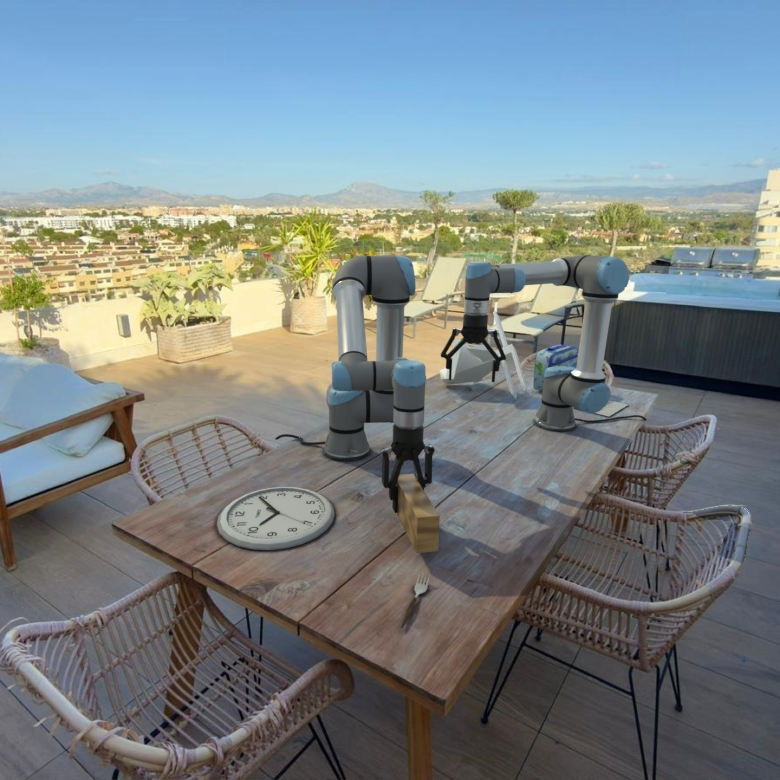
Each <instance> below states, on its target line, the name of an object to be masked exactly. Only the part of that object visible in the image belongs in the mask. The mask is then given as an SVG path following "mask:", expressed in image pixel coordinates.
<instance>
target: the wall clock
mask: <svg viewBox="0 0 780 780" xmlns="http://www.w3.org/2000/svg"><path fill="white" fill-rule="evenodd" d="M335 516H336V513H335V509H334V505H333V504H332V503H331V502H330V500H329V499H328V498H327V497H325V496H323V495H322V494H321V493H319V492H316V491H313V490H311V489H307V488H302V487H296V486H279V487H278V486H277V487H267V488H263V489H258V490H255V491H251V492H249V493H246V494H243V495H242V496H240V497H238V498H235V499H234V500H232V501H231V502H230V503H228V505H226V506H225V507H223V509H222V510H221V512H220V514H219V515H218V517H217V521H216V529H217V531H218V533H219V535H220V536H221V537H222V538H223V539H224V540H225V541H226V542H227V543H230V544H233V545H235V546H236V547H239V548H244V549H249V550H257V551H274V550H285V549H289V548H292V547H297V546H301V545H304V544H306V543H308V542H310V541H312V540H315V539H317V538H318V537H319V536H321V535H323V534H324V533H325V532H326V531H328V529H329V528H330V527H331V525H332V524H333V522H334V518H335Z"/></svg>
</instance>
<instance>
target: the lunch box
mask: <svg viewBox="0 0 780 780" xmlns="http://www.w3.org/2000/svg"><path fill="white" fill-rule="evenodd" d="M578 353H579V349H578V347H577V346H571V345H565V344H556V345H553V346H549V347H546V348H544V349H541V350H539V351H538V353H537V354H536V357H535V361H534V371H533V372H534V373H533V389H534V390H535V391H539V392H542V391H543V380H544V374H545V370H546V369H547V368H549V367H556V366H567V367H574V368H576V367H577V360H578Z"/></svg>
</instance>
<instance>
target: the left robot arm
mask: <svg viewBox="0 0 780 780" xmlns="http://www.w3.org/2000/svg"><path fill="white" fill-rule="evenodd" d="M415 274H416V273H415V269H414V264H413V261H412V260H411V258H409V257H408V256H402V255H357V256H354V257H352V258H350V259H348V260H347V261H346V262H345V263H343V265H341V266H340V268H339V269H338V270H337V272H336V274H335V276H334V278H333V282H332V293H331V294H332V298H333V300H334V301H335V303H336V304H335V305H336V325H337V326H336V327H337V356H338V361H333V362H332V363H331V387H332V388H331V389H330V390H329V392H328V402H327V404H328V425H329V426H328V433H327V437H326V439H325V441H312V442H311V441H304V439H303V437H301V436H299V435H294V434H289V433H284V434H280V435H277V436H276V437H275V438H274V440H275V441H276V440H277V441H278V440H279V439H281V438H294V439H296V440H300V443H301V444H302V445H305V446H318V445H319V446H320V445H324V446H323V452H324V455H325V456H326V457H327V458H329V459H332V460H336V461H342V462H343V461H347V462H348V461H356V460H360V459H363V458H365V457H367V456H368V455H369V453H370V444H369V441H368V438H367V434H366V431H365V424H375V423H376V424H377V423H378V424H380V423H381V424H383V423H391V424H393V425H392V442H391V444H390V446H389V447H387V448H385V447H381V448H380V454H381V456H382V458H381V459H382V461H381V462H382V463H381V464H382V465H381V484H382V486H383V488H384V489H387V488H388V497H389V499H390V501H392V511H393V512H394V514H397V513H398V488H397V487H396V484H397V481H398V478H399V475H400V474H401V471H402V467H403V466H404V463H405V462H407V461H410V462H411V461H412V465H413V468H414V472H415V477H416V479H417V481H418V482H419V484H420V485H421V487H422V488H423V490H424V491H425V488H426V486H427V485H428V484H429V485H430V484H432V481H433V456H434V453H435V449H436V448H435V447H434V446H433V445H432V444H431V443H429V444H426V443H425V442H424V429H425V426H424V424H425V401H426V400H425V397H426V381H427V375H426V373H427V372H426V365H425V364H424V362H421V361H418V360H411V359H408V358H407V357H403V356H404V332H405V331H404V328H405V307H406V306H407V305H408V304H409V303H410V300H411V299H410V297H413V296H415V295H416V289H417V288H416V285H417V283H416V276H415ZM365 296H371V302H372V303H373V304H374V305H375V306H376V329H375V331H376V332H375V333H376V335H375V336H376V337H375V360H368V350H367V338H366V337H367V336H366V325H365V311H364V299H365ZM299 437H300V438H299ZM422 452H424V475H423V471H422V466H421V461H420V458H419V456H420V455H421V453H422ZM392 453H393V454H394V456H395V457H394V462H393V463H394V464H393V466H392V471H391V474H390V458H391V456H392Z"/></svg>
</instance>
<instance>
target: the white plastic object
mask: <svg viewBox="0 0 780 780" xmlns="http://www.w3.org/2000/svg"><path fill="white" fill-rule="evenodd" d="M492 315H493V319H494V321H495V324H496V325H495V326H496V328H497V332H498V335H499V338H500V342H501V346H502V349H503V352H504V354H505V356H506V360H502V361H500V365H499V367H500V366H502V370H503V373H504V376H505V380H506V383H507V386H508V390H509V393H510V394H511V395H512V397H513V398H514V399H515V400H517V392H516V391H517V390H516V388H515V385H514V381H513V378H512V375H511V371H510V369H509V365H508V361H510V360H513V363H514V366H515V369H516V372H517V376H518V380H519V382H520V385H521V389H522V391H523V393H524V395H525V396H526V397H528V396H531V395H530V390H529V388H528V387H529V386H528V384H527V381H526V378H525V375H524V371H523V369H522V368H523V367H522V366H521V362H520V359H519V355H518V352H517V349H516V347H515V346H514V345H513V343H511V344H508V341H507V337H506V334H505V331H504V328H503V325H502V321H501V318H500V315H499V314H498V312H497V311H496V310H495V311H492ZM461 339H462V338H460V339H458V338H455V339H454V341H453V343H452V349H453V348H454V347H455V346H456V345H457V344H458V343H459V342H460V341H461ZM452 349H451V350H452ZM493 350H494V351H495V353H496V354H497V355H498V356H501V355H500V353H499V350H498V349H496V350H495V349H493ZM451 358H452V374H451V380H449V369H446V367H444V368H442V369H440V370H439V371H438V372H439V376H440V381H442V383H443V384H444V385H445V386H449V385H458V384H467V383H468V384H469V383H473V384H477V383H480V382H482V381H484V378H485V377H486V376H487V375H489V374H490V373H492V368H493V360H495V359H494V357H493V356H492V355H491V353H490V352H489V351H488V350H487V348H486V347H485V346H484V345H483V344H477V345H473V346H469V344H468V343H467V342H466V343H465V344H464V345H463V346H462V347H461V348H460V349H459V350H458V351H457V352H456V353H455V354H454V355H453V356H452V357H451Z"/></svg>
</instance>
